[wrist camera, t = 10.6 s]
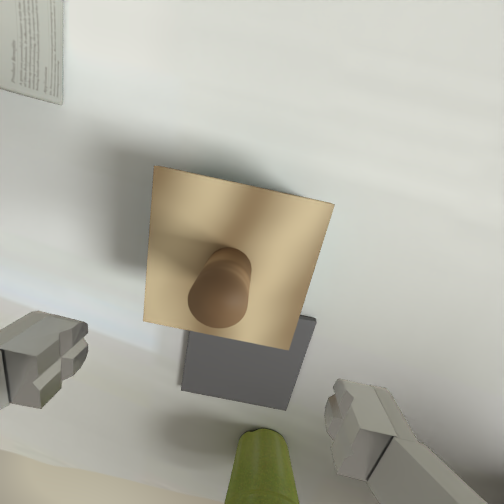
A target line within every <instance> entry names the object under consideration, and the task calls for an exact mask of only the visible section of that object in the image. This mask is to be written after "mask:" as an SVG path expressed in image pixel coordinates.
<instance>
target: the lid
mask: <svg viewBox="0 0 504 504" xmlns="http://www.w3.org/2000/svg"><path fill="white" fill-rule="evenodd" d="M333 208H334V204H332V203H329V202H324V201H320V200H315V199H310V198H306V197H301V196H297V195H292V194H287V193H283V192H278V191H274V190H269V189H264V188H260V187H255V186H250V185H246V184H241V183H237V182H232V181H227V180H223V179H218V178H214V177H209V176H204V175H200V174H195V173H191V172H186V171H181V170H177V169H172V168H167V167H163V166H154V172H153V187H152V201H151V215H150V229H149V243H148V258H147V272H146V286H145V300H144V315H143V321H144V322H149V323H154V324H159V325H164V326H169V327H174V328H179V329H184V330H189V331H194V332H199V333H204V334H209V335H214V336H219V337H224V338H229V339H234V340H239V341H244V342H249V343H254V344H259V345H264V346H269V347H274V348H279V349H284V350H289V348H290V345H291V342H292V339H293V335H294V332H295V329H296V326H297V323H298V320H299V316H300V313H301V310H302V307H303V304H304V301H305V297H306V294H307V291H308V288H309V285H310V281H311V278H312V275H313V272H314V269H315V266H316V262H317V259H318V256H319V253H320V250H321V247H322V243H323V240H324V237H325V234H326V231H327V228H328V224H329V221H330V218H331V215H332V212H333Z"/></svg>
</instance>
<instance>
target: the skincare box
mask: <svg viewBox="0 0 504 504" xmlns="http://www.w3.org/2000/svg"><path fill="white" fill-rule="evenodd" d="M0 89H3V90H6V91H10V92H14V93H17V94H21V95H24V96H28V97H32V98H36V99H39V100H43V101H47V102H51V103H55V104H59V105H62V104H63V0H0Z"/></svg>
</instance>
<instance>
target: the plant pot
mask: <svg viewBox="0 0 504 504" xmlns="http://www.w3.org/2000/svg"><path fill="white" fill-rule="evenodd" d="M225 504H299V500H298V495H297V490H296V486H295V481H294V476H293V471H292V466H291V461H290V456H289V451H288V446H287V444H286V442H285V440H284V438H283V437H282V436H281V435H280V434H279V433H277V432H275V431H272V430H269V429H258V430H256V431H254V432H246V433H244V434H243V435H242V436H241V438H240V439H239V442H238V446H237V450H236V455H235V460H234V464H233V469H232V473H231V478H230V482H229V486H228V491H227V495H226V499H225Z"/></svg>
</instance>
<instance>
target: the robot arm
mask: <svg viewBox="0 0 504 504" xmlns="http://www.w3.org/2000/svg"><path fill="white" fill-rule="evenodd" d="M87 333H88V324H87V323H85V322H83V321H79V320H75V319H71V318H67V317H63V316H59V315H55V314H49V313H45V312H42V311H34V312H30V313H29V314H27V315H25V316H24V317H22V318H20V319H18V320H17V321H15V322H13V323H12V324H10V325H8V326H6V327H5V328H3V329H1V330H0V410H1V409H3V408H4V407H6V406H8V405H9V403H12V404H18V405H23V406H28V407H34V408H39V409H42V407H43V406H44V405H45V404H46V403H47V402H48V401H49V400H50V399H51V398H52V397H53V396H54V395H55V394H56V393H57V392H58V391H59V390H60V389H61V386H62V380H65V379H67V378H69V377H71V376H73V375H74V374H75V373H76V372H77V371H78V370H79V369H80V368H81V366H82V364H83V363H84V361H85V359H86V357H87V353H88V343H87V342H86V340H85V339H84V338H83V337H84V336H85V335H86V334H87ZM333 389H334V393H335V394H334V395H332V396H331V397H329V398H328V401H327V403H326V406H325V425H326V430H327V432H328V434H329V435H330V436H331V438H332V439H333V440H334V441H333V443H332V446H331V452H332V456H333V460H334V464H335V469H336V473H337V474H339V475H343V476H347V477H351V478H355V479H359V480H362V481H366V482H367V485H368V486H369V488H370V490H371V491H372V493H373V494H374V496H375V497H376V499H377V500H378V502H379V503H380V504H488V503H487V502H486V501H484V500H483V499H482V498H481V497H480V496H479V495H478V494H477V493H476V492H475V491H474V490H473V489H472V488H471V487H469V486H468V485H467V484H466V483H465V482H464V481H463V480H462V479H461V478H460V477H459V476H458V475H457V474H456V473H455V472H453V471H452V470H451V469H450V468H449V467H448V466H447V465H446V464H445V463H444V462H443V461H442V460H441V459H440V458H438V457H437V456H436V455H435V454H434V453H433V452H432V451H431V450H430V449H429V448H428V447H427V446H426V445H425V444H423V443H419V442H418V441H417V439H416V437H415V436H414V434H413V432H412V430H411V429H410V427H409V425H408V423H407V421H406V420H405V418H404V416H403V414H402V413H401V411H400V409H399V407H398V405H397V404H396V402H395V400H394V398H393V397H392V395H391V393H390V392H389V391H388V390H387V389H386V388H382V387H377V386H372V385H366V384H362V383H357V382H352V381H348V380H343V379H338V380H337V381H336V382H335V384H334V386H333Z"/></svg>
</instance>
